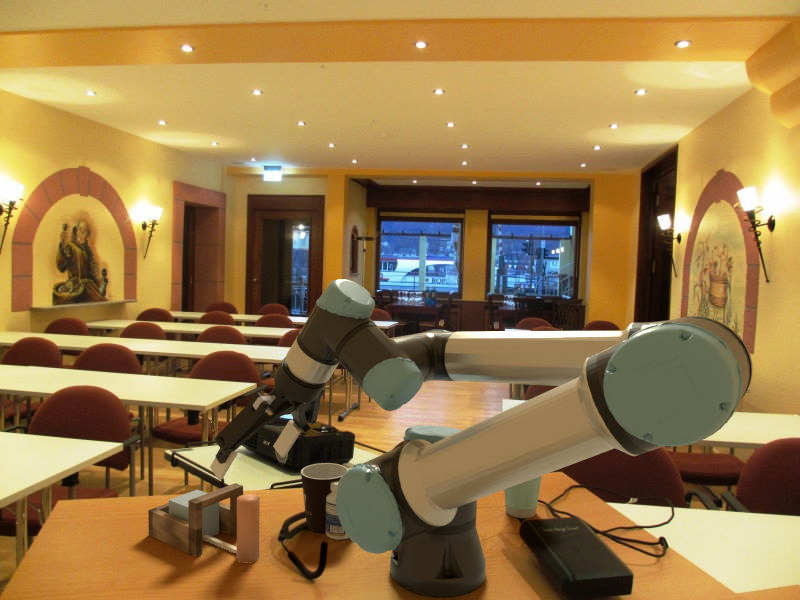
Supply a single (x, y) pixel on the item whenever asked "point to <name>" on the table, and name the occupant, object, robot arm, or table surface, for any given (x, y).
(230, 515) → the wooden frame
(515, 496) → the coffee cup
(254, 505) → the lopsided dumbbell
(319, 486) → the coffee mug
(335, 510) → the pill bottle
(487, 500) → the table surface
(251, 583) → the table surface
